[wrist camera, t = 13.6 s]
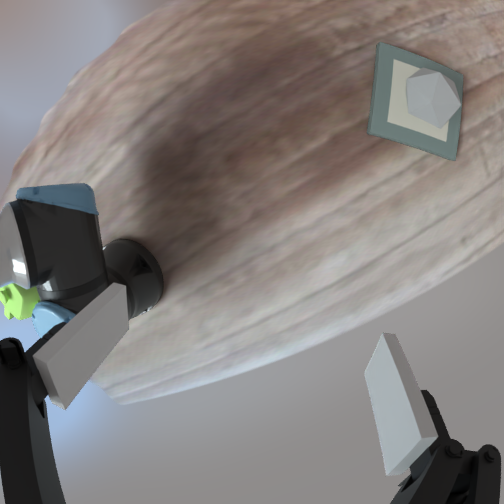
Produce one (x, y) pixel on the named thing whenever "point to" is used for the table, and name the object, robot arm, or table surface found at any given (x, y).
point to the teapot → (18, 301)
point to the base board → (395, 104)
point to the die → (431, 97)
